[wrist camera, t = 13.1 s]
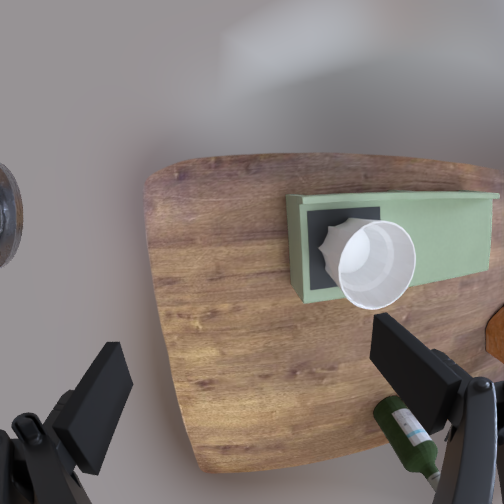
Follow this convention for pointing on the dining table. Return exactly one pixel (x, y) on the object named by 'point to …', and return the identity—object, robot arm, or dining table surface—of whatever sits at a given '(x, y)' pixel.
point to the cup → (369, 261)
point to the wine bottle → (408, 438)
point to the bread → (496, 335)
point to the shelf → (403, 214)
